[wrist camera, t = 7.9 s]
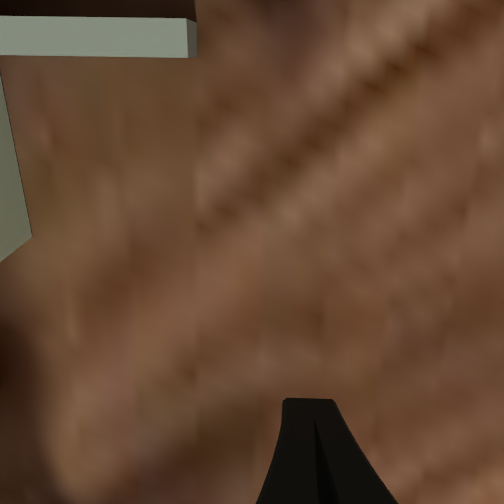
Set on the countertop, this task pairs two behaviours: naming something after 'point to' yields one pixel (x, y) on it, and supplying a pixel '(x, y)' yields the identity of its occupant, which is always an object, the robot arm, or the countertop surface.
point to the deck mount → (73, 44)
